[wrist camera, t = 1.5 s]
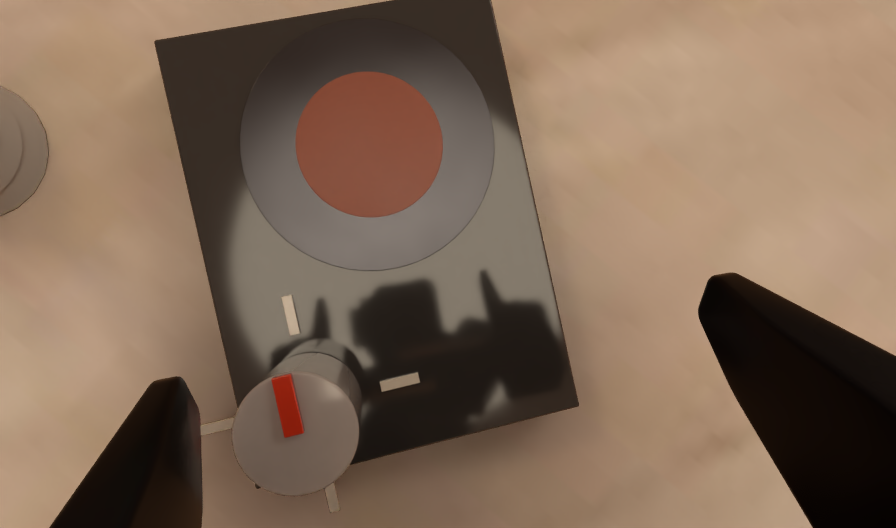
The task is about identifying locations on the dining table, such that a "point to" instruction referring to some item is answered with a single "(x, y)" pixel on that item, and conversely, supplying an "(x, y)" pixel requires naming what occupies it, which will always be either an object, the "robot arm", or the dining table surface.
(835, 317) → the dining table surface
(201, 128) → the hob
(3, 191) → the chalice
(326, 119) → the burner
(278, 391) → the hob knob
